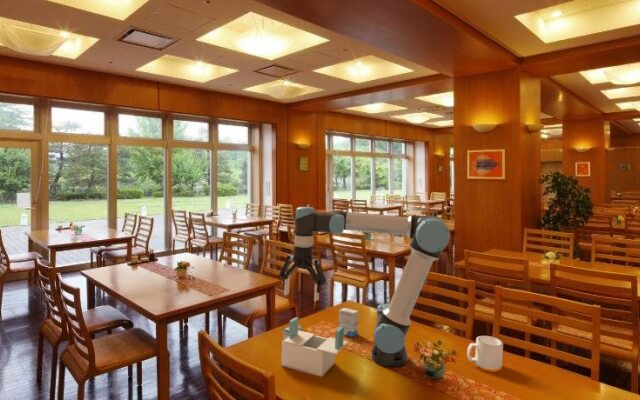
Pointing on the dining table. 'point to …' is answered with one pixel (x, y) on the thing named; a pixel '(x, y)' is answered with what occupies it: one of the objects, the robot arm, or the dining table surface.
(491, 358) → the mug
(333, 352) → the flap near
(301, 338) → the flap far
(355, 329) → the ink box
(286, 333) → the medicine box
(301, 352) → the carton
